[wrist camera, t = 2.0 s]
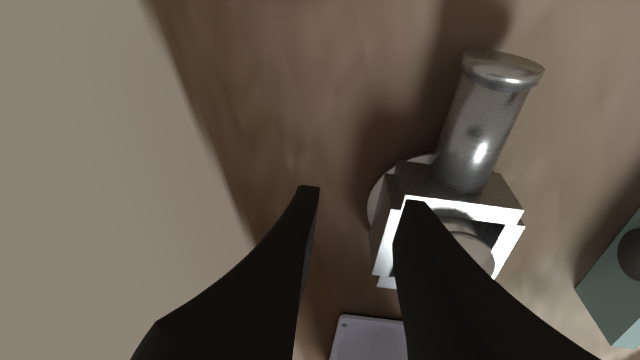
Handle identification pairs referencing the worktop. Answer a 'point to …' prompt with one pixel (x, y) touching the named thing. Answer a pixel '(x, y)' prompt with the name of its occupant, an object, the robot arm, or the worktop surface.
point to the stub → (443, 220)
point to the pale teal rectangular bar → (616, 288)
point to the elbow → (463, 162)
